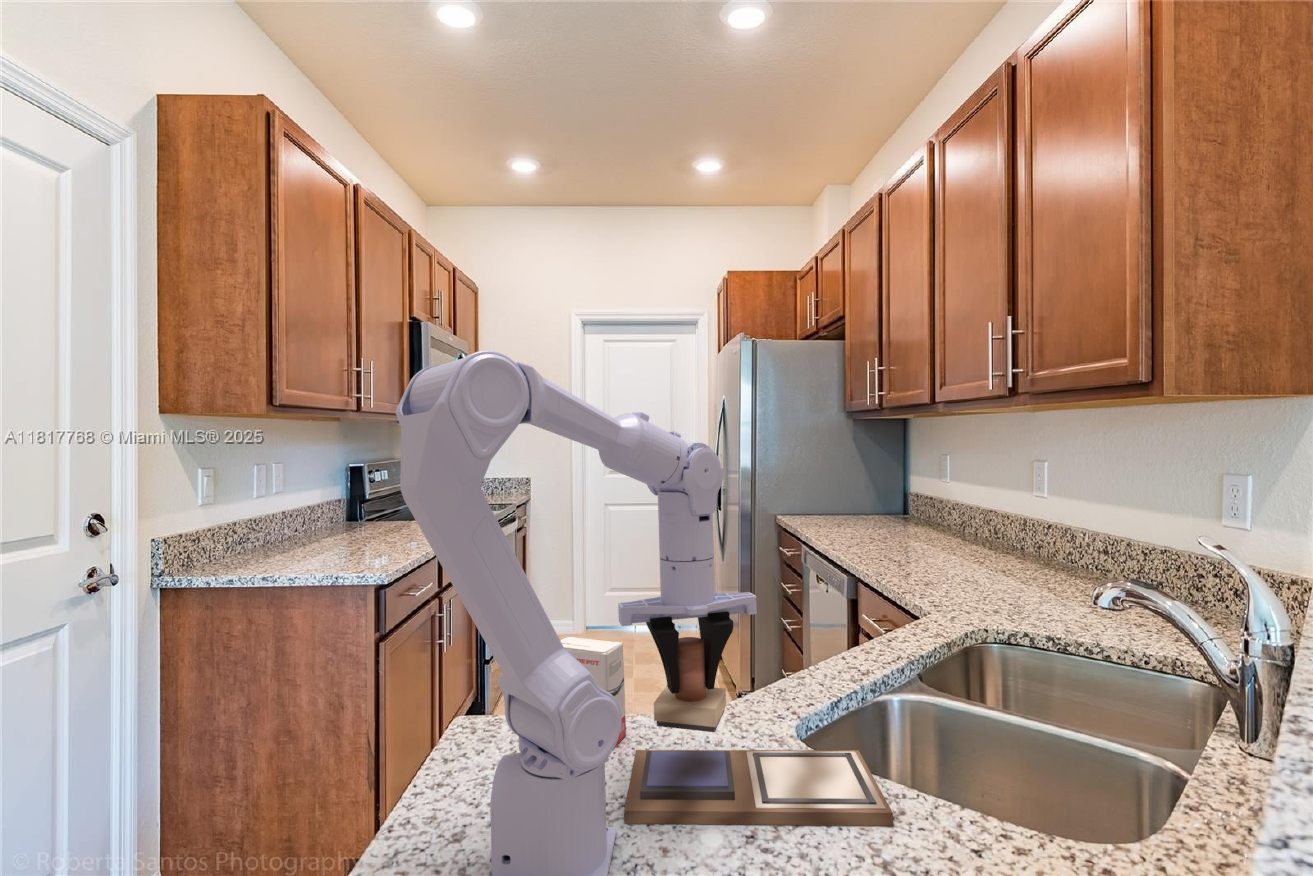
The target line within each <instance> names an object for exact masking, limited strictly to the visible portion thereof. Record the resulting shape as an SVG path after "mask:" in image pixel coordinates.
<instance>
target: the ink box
mask: <svg viewBox="0 0 1313 876" xmlns="http://www.w3.org/2000/svg"><path fill="white" fill-rule="evenodd" d="M560 641H561V643H562V645H563V647H564V648H565V649H566V650H567V651H568V652H569V653H570V654H571V655H572V656H573V657H574V658H575V659H577V660H578V661H579V662H580V663H581V664H582V665H583V666H584V667H585V668H586V669H587V670H588V671H589V672H590V673H591V675H592V677H593V679H594V681H595V682H596V684H597V685H598V686H599V687H600V688H601V689H603V690H605V691H607V692H609V693H610V694H612V695H613V696H614V697H615V699H616V700H617V702H618V704H619V706H620V710H621V717H622V723H621V730H620V735H619V738H618V741H617V743H616V745H615V747H616V746H617V745H618V744H620V743H621V741H622V740H624V739H625V737H626V736H627V728H626V725H627V723H626V722H627V721H626V698H625V697H626V693H625V692H626V691H625V690H626V689H625V670H624V669H625V667H624V665H625V663H624V661H625V660H624V643H623V642H622V641H621V642H619V641H609V640H602V639H601V640H599V639H593V638H592V639H590V638H582V637H574V636H573V637H572V636H567V637H565V638H562V639H560Z"/></svg>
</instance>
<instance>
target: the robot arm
mask: <svg viewBox="0 0 1313 876" xmlns="http://www.w3.org/2000/svg"><path fill="white" fill-rule="evenodd" d="M395 416H396V418H397V421H398V425H399V426H400V431H401V432H400V471H399V472H400V473H399V475H400V477H399V478H400V480H399V485H400V486H399V487H400V492H401V495H402V497H403V500H404V503H405V504H406V506H407V507H408V509H409V511H410V513H411V514H412V516H413V518H414V520H415V521H416V522H415V523H417V525H418V527H419V529H420V530H421V532H422V533H423V537H424V538H425V539H426V541H427V543H428V545H429V546H430V548H431V549H432V552H433V553H434V554H435V558H436V559H437V560H438V562H439V564H440V566H441V567H442V569H443V571H444V573H445V574H446V576H447V578H448V579H449V582H450V583H451V585H452V586H453V588H454V589H455V592H456V593H457V596H458V597H459V599H460V601H461V602H462V603H463V607H465V609H466V611H467V613H468V615H469V616H470V618H471V620H472V621H473V623H474V625H475V627H476V629H477V630H478V632H479V634H480V636H481V638H482V639H483V641H484V643H485V645H486V646H487V648H488V650H489V651H490V653H491V655H492V656H493V658H494V660H495V662H496V663H497V666H498V668H499V669H500V670H501V674H500V675H499V677H498V679H497V682H496V683H497V686H498V688H499V690H500V691H501V693H502V696H503V701H504V718H505V721H506V723H507V726H508V728H509V729H510V731H512V733H514V735H517V736H518V751H519V752H516V753H510V754H504V755H503V756H502V757H501V758H500V760H499V762H498V763H497V765H496V770H495V772H494V775H493V776H494V777H493V781H492V787H491V793H490V807H489V808H490V849H491V851H490V852H491V853H490V854H491V855H490V857H491V859H490V861H491V862H490V863H491V876H608V875H609V871H610V867H611V861H612V856H613V851H614V847H615V843H616V838H617V837H616V836H617V828H616V827H614V826H607V808H606V807H607V806H606V805H607V804H606V802H607V800H606V763H608V762H609V761H610V760H609V756H610V755H611V754H612V753H613V750H614V749H615V747H616V746H617V745H616V743H617V741H618V738H619V735H620V730H621V723H622V717H621V710H620V706H619V704H618V702H617V700H616V699H615V697H614V696H613V695H612V694H610V693H609V692H607V691H605V690H603V689H601V688H600V687H599V686H598V685H597V684H596V682H595V681H594V679H593V677H592V675H591V673H590V672H589V671H588V670H587V669H586V668H585V667H584V666H583V665H582V664H581V663H580V662H579V661H578V660H577V659H575V658H574V657H573V656H572V655H571V654H570V653H569V652H568V651H567V650H566V649H565V648H564V647H563V645H562V643H561V641H560V640H561V639H560V638H559V636H558V634H557V632H556V630H555V628H554V626H553V624H552V622H551V620H550V618H549V617H548V614H547V613H546V611H545V609H544V607H543V605H542V603H541V601H540V599H539V598H538V595H537V594H536V591H535V590H534V588H533V585H532V584H531V582H530V580H529V578H528V576H527V574H526V573H525V570H524V569H523V567H522V565H521V563H520V561H519V559H518V557H517V556H516V554H515V552H514V550H513V548H512V546H511V544H510V542H509V540H508V538H507V537H506V535H505V532H504V530H503V529H502V527H501V525H500V523H499V521H498V519H497V517H496V515H495V513H494V512H493V510H492V508H491V506H490V504H489V502H488V500H487V498H486V497H485V494H484V493H483V490H482V484H483V482H484V479H485V476H486V474H487V471H488V468H489V466H490V464H491V461H492V460H493V458H494V457H495V456H496V455H497V453H498V452H499V451H500V449H501V448H502V447H503V445H505V443H506V442H507V441H508V439H509V438H510V437H511V436H512V434H513V433H514V432H515V430H516V429H517V428H518V427H519V425H522V424H528V425H531V426H534V427H537V428H539V429H542V430H545V431H547V432H549V433H552V434H556V435H557V436H561V437H563V438H566V439H569V440H571V441H573V442H576V443H579V444H582V445H585V446H587V447H590V448H592V449H595V450H598V454H599V455H598V456H599V459H600V461H601V463H602V464H603V466H604V467H606V468H607V469H610V470H612V471H614V472H617V473H620V474H621V475H623V476H626V477H627V478H628V477H629V478H631V479H633V480H636V481H638V482H641V483H643V484H645V485H646V486H647V488H648V489H649V492H651V494H652V495H654V496H657V506H658V507H657V511H658V544H659V545H658V547H659V552H658V553H659V578H660V581H659V582H660V583H659V584H660V585H659V586H660V596H654V597H649V598H644V599H639V600H633V601H626V602H618V603H617V604H618V605H617V606H618V607H617V608H618V609H617V611H618V613H617V614H618V622H619V625H620V626H621V627H628V626H632V625H633V624H639V623H640V624H641V623H642V624H644V623H645V624H646V627H647V629H648V630H649V632H650V634H651V637H652V639H653V641H654V644H655V646H656V648H657V651H658V653H659V657H660V659H661V663H662V666H663V670H664V674H665V680H666V686H667V687H668V689H669V690H670V692H671V693H672V694H675V693H679V678H678V666H677V654H678V639H679V638H680V632H679V631H678V630H677V629H676V624H675V622H673V621H675V620H685V619H695V618H697V621H698V628H699V638H700V639H703V640H704V649H705V683H706V688H707V689H708V690H709V689H714V688H715V685H716V678H717V672H718V669H719V665H720V661H721V659H722V655H723V653H724V649H725V647H726V645H727V643H728V640H729V639H730V637H731V635H732V633H733V631H734V620H733V619H731V618H730V617H731V616H730V615H739V614H740V615H741V614H746V615H749V616H751V615H757V614H758V612H757V610H758V609H757V596H756V595H755V594H754V593H752V592H749V591H746V592H716V584H715V579H716V577H715V550H714V549H715V546H714V521H713V519H714V517H713V516H714V514H715V513H716V508H718V493H719V490H720V489H721V487H722V484H723V481H724V474H725V468H724V467H723V468H722V465H721V460H720V458H719V456H718V455H717V453H716V452H715V450H713V449H712V448H711V447H710V446H709V445H707V444H706V443H703V442H687V441H685V440H684V438H683V439H682V438H681V437H682V435H681V433H679V432H677V431H675V430H672V431H666V430H665V429H663V428H661V427H659V426H657V425H655V424H653V423H651V422H649V421H650V415H649V414H646V413H645V412H643V411H636V412H635V411H634V412H631V413H629V412H626V413H621V414H619V415H617V416H615V417H613V416H611V415H609V414H607V413H606V412H604V411H602V410H601V409H599V408H598V407H595V406H593V405H591V404H590V403H588V402H587V401H585V400H584V399H582V398H579V397H578V396H577V395H574V394H572V393H571V392H569V391H567V390H565V389H564V388H562V387H561V386H558V385H556V384H555V383H554V382H552V381H550V380H548V379H547V378H545V377H544V376H542V375H541V373H539V372H538V371H537V369H536V368H534V366H532V365H529V364H525V363H523V362H519V361H518V362H515V361H514V360H513V359H512V358H511V357H509V356H507V355H505V354H504V353H502V352H498V351H495V350H480V351H476V352H473V353H471V354H468V355H466V356H465V357H462V358H459V359H456V360H453V361H449V362H447V363H443V364H434V365H430V366H426V367H424V368H423V369H420V370H419V371H418V372H417V373H416V374H414V375H413V377H412V378H411V379H410V381H409V383H408V385H407V386H406V389H405V390H404V393H403V395H402V397H401V398H400V401H399V403H398V404H397V407H396V409H395ZM615 745H616V746H615Z"/></svg>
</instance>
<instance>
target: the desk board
mask: <svg viewBox="0 0 1313 876" xmlns="http://www.w3.org/2000/svg"><path fill="white" fill-rule="evenodd" d="M633 759H634V760H633V763H632V768H631V774H630V778H629V783H628V789H627V792H626V793H627V794H626V799H625V804H624V808H623V823H624V825H625V824H627V825H628V824H629V825H630V824H633V825H634V824H637V825H639V824H640V825H641V824H642V825H643V824H646V825H647V824H648V825H649V824H650V825H654V824H655V825H656V824H657V825H661V824H662V825H737V826H738V825H749V826H750V825H754V826H755V825H756V826H758V825H759V826H763V825H764V826H853V827H854V826H856V827H857V826H858V827H859V826H861V827H862V826H864V827H865V826H866V827H867V826H868V827H870V826H871V827H872V826H873V827H874V826H875V827H877V826H880V827H894V812H893V810H892V809H891V807H890V805H889V803H888V802H887V800H886V799H887V798H886V797H885V796H884V794H883V792H882V790H881V789H880V787H879V785H878V784H877V782H876V780H875V778H874V776H873V774H872V773H871V770H870V769H869V767H868V765H867V763H866V761H865V759H864V758H863V756H862V754H861V753H860V750H854V749H853V750H847V749H846V750H841V749H840V750H839V749H838V750H837V749H834V750H831V749H826V750H824V749H823V750H822V749H821V750H820V749H817V750H816V749H815V750H813V749H811V750H810V749H809V750H808V749H804V750H803V749H801V750H800V749H795V750H794V749H789V750H787V749H783V750H782V749H779V750H778V749H773V750H771V749H770V750H769V749H767V750H766V749H759V750H758V749H757V750H756V749H754V750H753V749H747V750H746V749H636V750H635V754H634V757H633Z"/></svg>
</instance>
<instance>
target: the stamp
mask: <svg viewBox="0 0 1313 876" xmlns="http://www.w3.org/2000/svg"><path fill="white" fill-rule="evenodd" d="M677 666H678V678H679V693H675V694H672V693H671V692H670V690H669V689H668V687H667V685H666V686H665V687H664V688H663V690H662V691H661V693H660V694H659V695H658V697H656V700H654V702H653V721H654V722H656V727H663V728H671V729H682V730H690V731H699V732H700V731H701V732H708V733H715V732H716V730H717V728H718V726H719V723H720V722H721V720H722V717H723V715H724V713H725V709H726V707H727V692H726V688H725V687H714V689H709V690H708V689H707V688H706V683H705V649H704V640H703V639H701V638H700V637H696V636H684V637H679V639H678V654H677Z"/></svg>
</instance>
